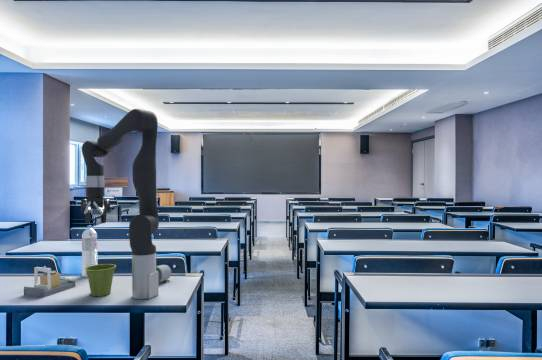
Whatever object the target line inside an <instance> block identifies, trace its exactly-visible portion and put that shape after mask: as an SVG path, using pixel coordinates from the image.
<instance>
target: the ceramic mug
mask: <svg viewBox="0 0 542 360" xmlns="http://www.w3.org/2000/svg"><path fill="white" fill-rule="evenodd" d="M156 271H158V284H160V283H162V282H165V281H167V280H169V279H170V278H171V277H172V269H171V266H169V265H167V264H161V265H160V264H159V265H156Z"/></svg>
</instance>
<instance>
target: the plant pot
mask: <svg viewBox="0 0 542 360" xmlns="http://www.w3.org/2000/svg"><path fill="white" fill-rule="evenodd" d="M116 268H117V265H116V264H113V263H101V264H98V265H93V266H89V267H86V268H85V270H86V272H87V275H88V277H87V280H88V285H89V291H90V294H91V295H90V296H92V297H96V296H97V297H104V296H108V295H109V294H111V291H112V284H113V277H114V273H115V269H116Z"/></svg>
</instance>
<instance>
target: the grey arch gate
mask: <svg viewBox="0 0 542 360" xmlns="http://www.w3.org/2000/svg"><path fill="white" fill-rule="evenodd" d="M51 271H52V268H51V267H42V266H41V267H40V266H36V267H34V270H33V272H34V273H33V274H34V275H33V276H34V284H33V287H34V288H43V289H44V291H47V290H50V289H51V275H50V272H51ZM39 272H43V273H44V272H47V285H44V284H40V283H39V281H38V276H39V275H38V273H39Z"/></svg>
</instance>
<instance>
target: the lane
mask: <svg viewBox="0 0 542 360" xmlns="http://www.w3.org/2000/svg"><path fill="white" fill-rule="evenodd" d="M72 288H76V280H73V279H69V284H66V285H62V286H59V287H56V288H53V289H50V290H47V291H44V289H43V288H34V286H23V296H25V297H33V298H34V297H35V298H42V299H43V298H46V297H49V296H52V295H55V294H58V293H60V292H64V291H67V290H69V289H72Z"/></svg>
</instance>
